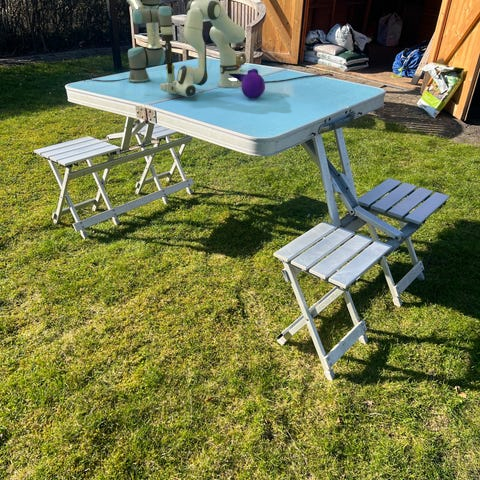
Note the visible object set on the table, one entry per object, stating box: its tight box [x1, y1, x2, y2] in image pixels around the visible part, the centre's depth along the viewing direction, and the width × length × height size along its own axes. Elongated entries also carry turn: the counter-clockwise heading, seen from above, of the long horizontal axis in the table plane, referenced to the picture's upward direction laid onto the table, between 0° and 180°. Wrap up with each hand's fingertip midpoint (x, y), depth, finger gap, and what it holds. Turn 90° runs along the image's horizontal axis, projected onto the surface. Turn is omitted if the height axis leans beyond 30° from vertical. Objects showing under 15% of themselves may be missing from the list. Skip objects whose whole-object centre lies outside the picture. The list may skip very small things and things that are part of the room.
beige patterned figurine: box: [236, 52, 247, 70], centre depth 365 cm, size 21×12×15 cm, turn 120°
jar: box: [166, 69, 176, 96], centre depth 296 cm, size 5×5×17 cm
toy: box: [229, 68, 266, 100], centre depth 284 cm, size 16×18×27 cm
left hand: (170, 72), depth 294 cm, fingers closed on lid, 5 cm apart
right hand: (171, 83), depth 298 cm, fingers closed on jar, 5 cm apart
